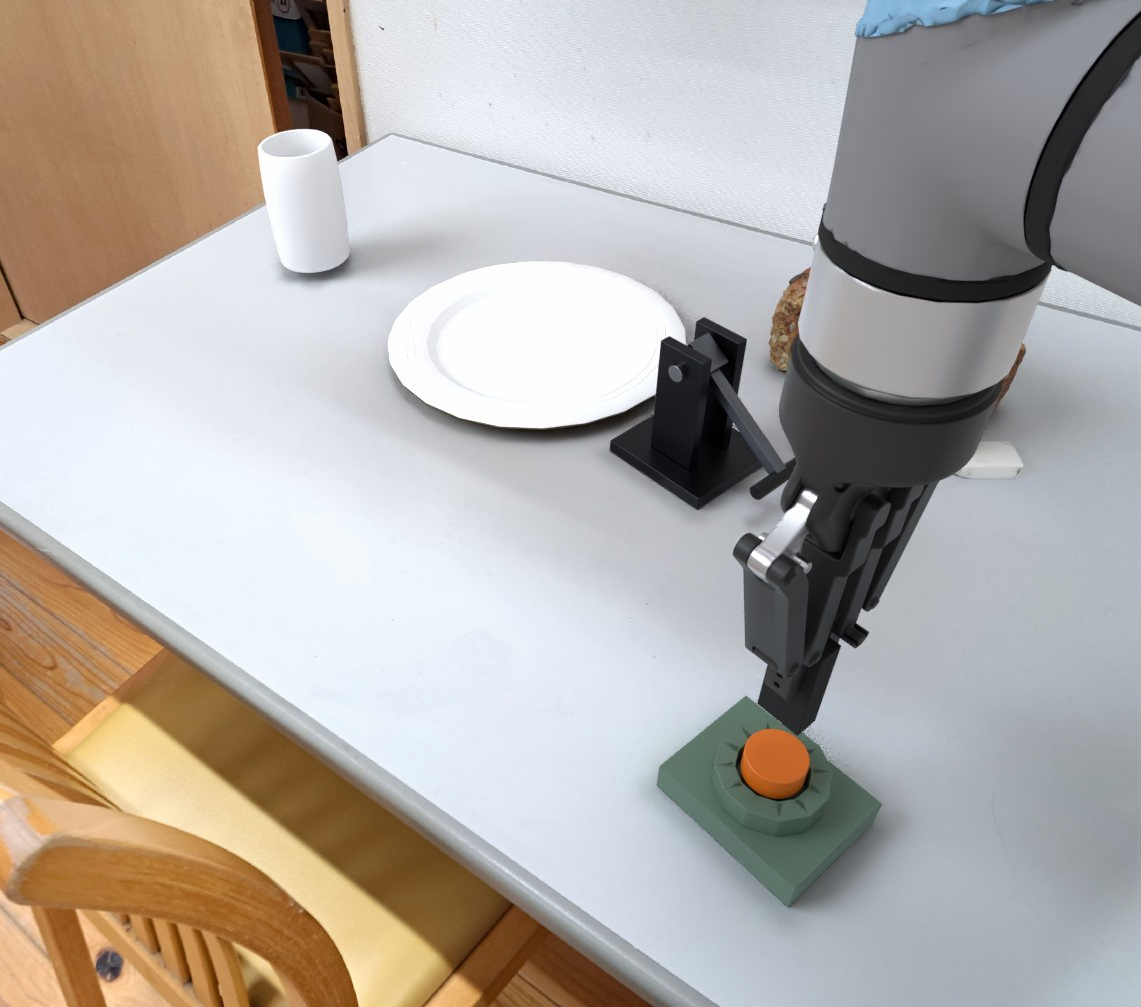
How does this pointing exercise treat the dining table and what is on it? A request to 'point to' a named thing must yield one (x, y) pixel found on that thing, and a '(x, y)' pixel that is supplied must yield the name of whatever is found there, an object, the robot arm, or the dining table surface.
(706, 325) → the bracket
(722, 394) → the lever
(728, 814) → the control block
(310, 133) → the cup
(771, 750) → the button
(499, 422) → the plate
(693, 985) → the dining table surface
